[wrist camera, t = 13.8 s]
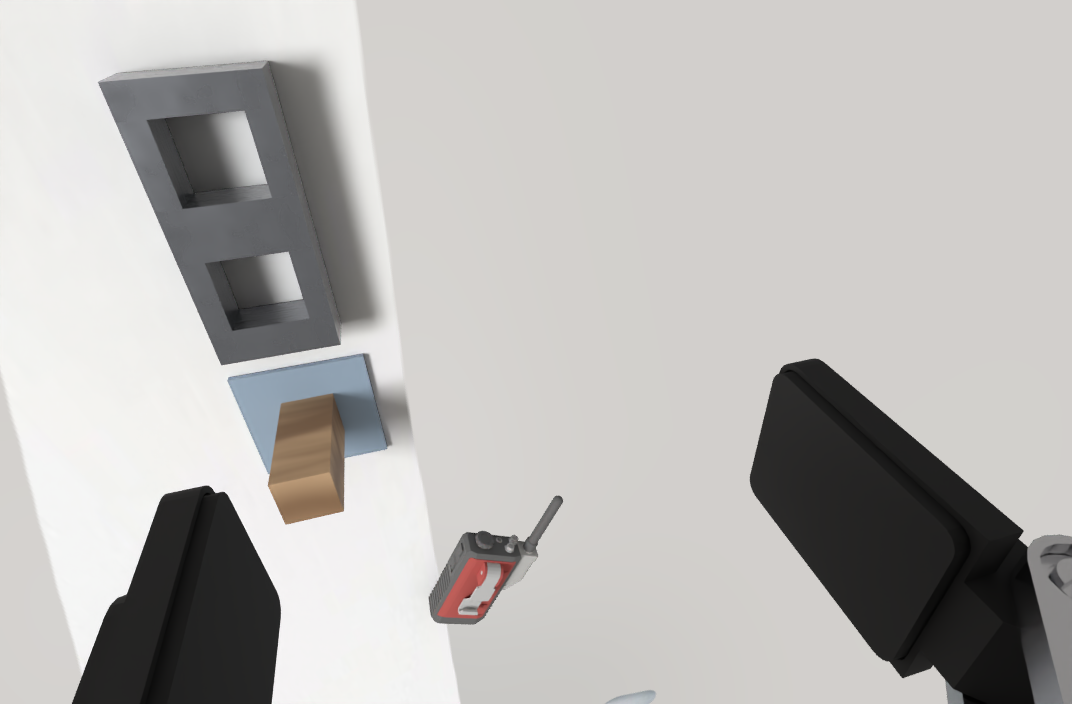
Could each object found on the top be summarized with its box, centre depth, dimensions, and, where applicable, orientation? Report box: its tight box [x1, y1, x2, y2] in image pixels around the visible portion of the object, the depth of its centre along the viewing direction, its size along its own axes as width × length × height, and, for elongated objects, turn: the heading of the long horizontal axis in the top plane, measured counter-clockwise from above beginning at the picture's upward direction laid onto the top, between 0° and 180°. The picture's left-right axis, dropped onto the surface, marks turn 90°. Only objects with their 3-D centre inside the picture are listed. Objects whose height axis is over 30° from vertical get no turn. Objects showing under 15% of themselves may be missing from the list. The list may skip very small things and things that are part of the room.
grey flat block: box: [98, 61, 341, 365], centre depth 37 cm, size 18×8×3 cm, turn 3°
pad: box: [228, 354, 387, 474], centre depth 47 cm, size 10×10×1 cm
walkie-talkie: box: [429, 496, 563, 624], centre depth 62 cm, size 9×4×20 cm
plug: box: [268, 393, 345, 524], centre depth 44 cm, size 4×4×9 cm
